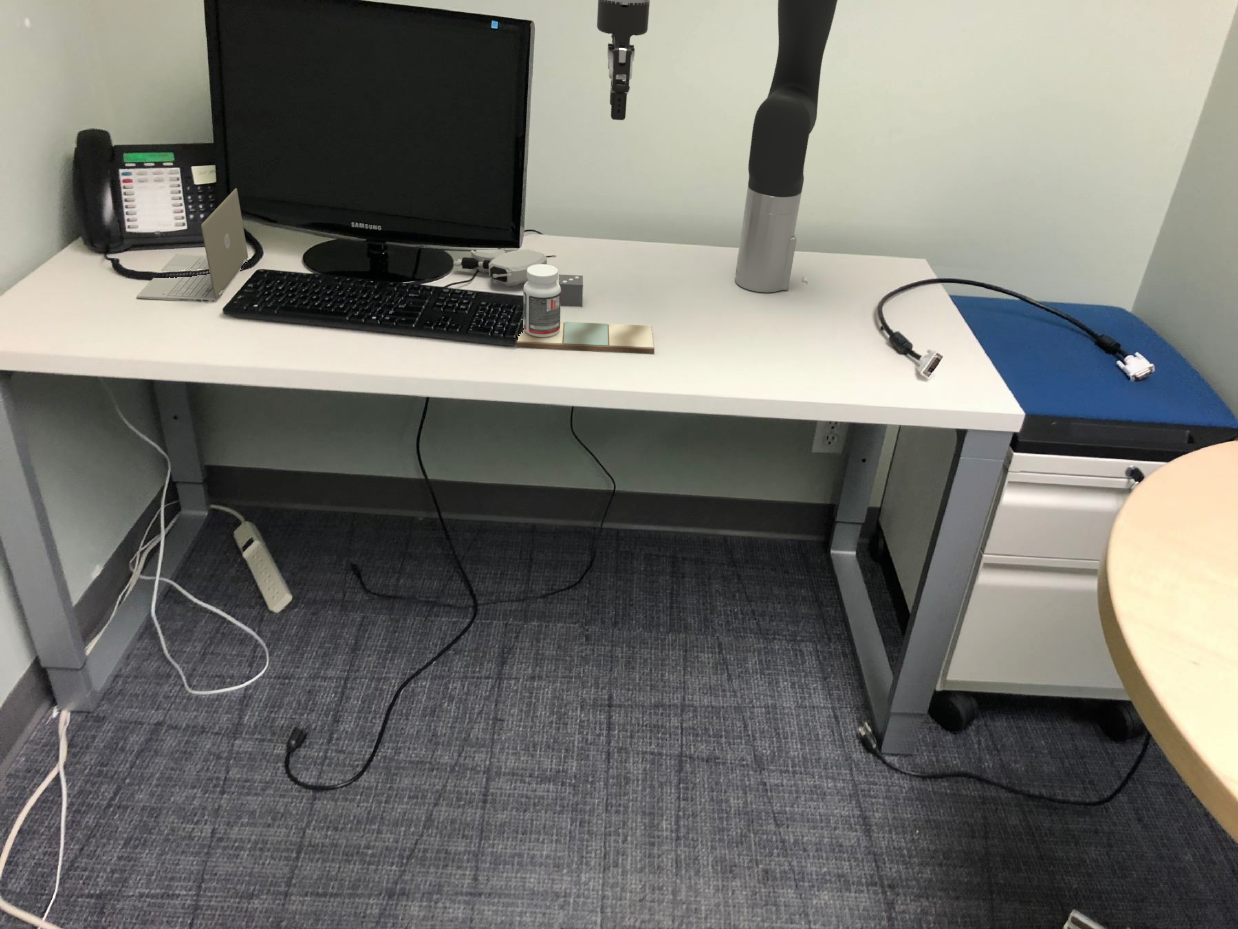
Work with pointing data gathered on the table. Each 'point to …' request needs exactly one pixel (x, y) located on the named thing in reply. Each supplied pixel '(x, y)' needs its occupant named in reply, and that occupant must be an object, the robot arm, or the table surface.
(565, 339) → the board
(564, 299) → the die
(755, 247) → the robot arm
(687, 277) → the table surface
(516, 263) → the robot toy
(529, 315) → the pill bottle
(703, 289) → the table surface
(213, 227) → the laptop
